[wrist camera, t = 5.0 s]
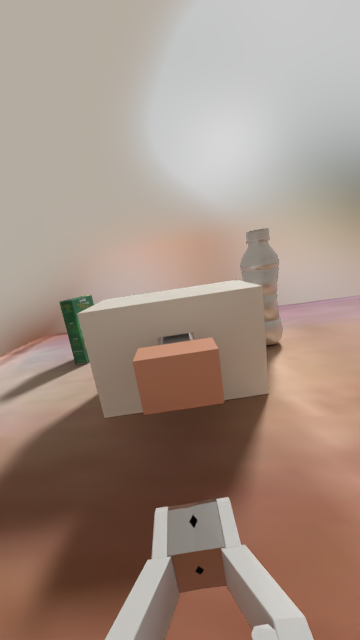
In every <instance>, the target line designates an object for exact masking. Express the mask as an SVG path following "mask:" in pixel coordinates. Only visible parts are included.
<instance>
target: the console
mask: <svg viewBox="0 0 360 640" xmlns="http://www.w3.org/2000/svg"><path fill="white" fill-rule="evenodd" d="M77 315H78V318H79V322H80V326H81V330H82V334H83V338H84V342H85V345H86V349H87V353H88V357H89V361H90V365H91V368H92V372H93V376H94V380H95V384H96V388H97V392H98V395H99V399H100V403H101V407H102V411H103V415H104V418H108V417H115V416H122V415H128V414H135V413H142V412H143V409H142V404H141V400H140V395H139V390H138V385H137V381H136V376H135V371H134V367H133V362H132V361H133V359H134V357H135V354H136V352H137V349H138V348H144V347H150V346H157V345H162V343H163V337H166V336H173V335H179V334H186V333H190V335H191V338H190V340H197V339H204V338H210V337H212V338H213V340H214V341H215V343H216V345H217V347H218V349H219V358H220V366H221V375H222V384H223V393H224V400H229V399H236V398H243V397H249V396H256V395H263V394H269V387H268V370H267V353H266V336H265V320H264V303H263V286H261V285H257V284H253V283H248V282H244V281H239V280H233V281H227V282H220V283H213V284H207V285H200V286H193V287H186V288H180V289H173V290H166V291H160V292H153V293H147V294H140V295H133V296H127V297H120V298H114V299H107V300H103V301H101V302H99V303H97V304H95V305H93V306H91V307H89V308H87V309H85V310H83V311H81V312H79V313H77Z"/></svg>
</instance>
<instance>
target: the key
mask: <svg viewBox="0 0 360 640" xmlns="http://www.w3.org/2000/svg"><path fill="white" fill-rule="evenodd" d="M132 362H133V367H134V371H135V376H136V381H137V385H138V390H139V395H140V400H141V404H142V409H143V414H144V415H148V414H155V413H162V412H168V411H175V410H182V409H188V408H195V407H202V406H209V405H215V404H222V403H225V402H224V393H223V384H222V375H221V366H220V358H219V349H218V347H217V345H216V343H215V341H214V340H213V338H212V337H210V338H204V339H197V340H190V338H189V334H188V333H186V334H179V335H173V336H166V337H163V343H162V345H157V346H150V347H144V348H138V349H137V352H136V354H135V357H134V359H133V361H132Z"/></svg>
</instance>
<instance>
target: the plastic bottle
mask: <svg viewBox="0 0 360 640" xmlns="http://www.w3.org/2000/svg"><path fill="white" fill-rule="evenodd" d="M246 238H247V241H246V244H248V248H247V250H246V252H245V254H244V256H243V258H242V260H241V264H240V267H241V271H242V277H243V281H244V282H248V283H253V284H257V285H261V286H263V303H264V320H265V336H266V345H272V344H276V343H278V342H279V340H280V339H281V337H282V331H283V328H282V323H281V319H280V317H279V309H278V302H277V279H278V269H279V268H278V266H279V259H278V256H277V254H276V253H275V251H274V250H273V249H272V248H271V247H270V245H269V244H268V240H270V237H269V229H259V230H254V231H250V232H247V234H246Z"/></svg>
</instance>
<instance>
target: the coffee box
mask: <svg viewBox="0 0 360 640" xmlns="http://www.w3.org/2000/svg"><path fill="white" fill-rule="evenodd" d="M93 305H94V304H93V300H92V295H86V296H81V297H77V298H73V299H68V300H64V301H60V306H61V310H62V313H63V317H64V321H65V325H66V329H67V333H68V337H69V340H70V344H71V348H72V352H73V356H74V360H75V363H76V364H86V363H87V362H89V357H88V353H87V349H86V345H85V342H84V338H83V334H82V330H81V326H80V322H79V318H78V315H77V313H79V312H81V311H83V310H85V309H87V308H89V307H91V306H93Z"/></svg>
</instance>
